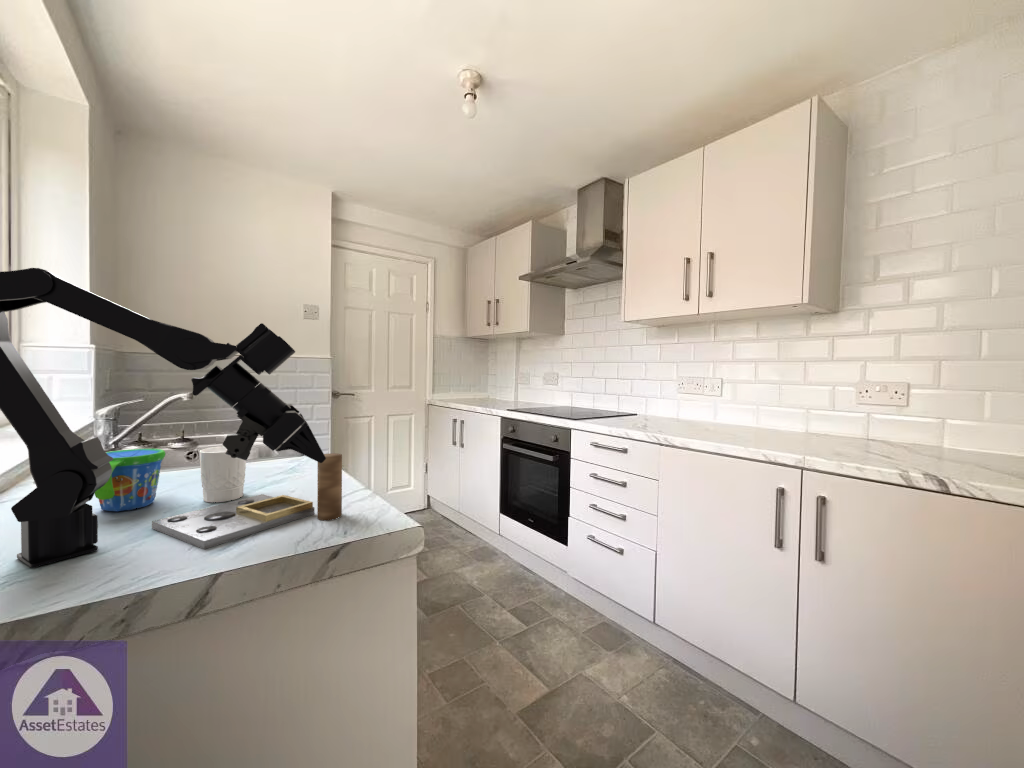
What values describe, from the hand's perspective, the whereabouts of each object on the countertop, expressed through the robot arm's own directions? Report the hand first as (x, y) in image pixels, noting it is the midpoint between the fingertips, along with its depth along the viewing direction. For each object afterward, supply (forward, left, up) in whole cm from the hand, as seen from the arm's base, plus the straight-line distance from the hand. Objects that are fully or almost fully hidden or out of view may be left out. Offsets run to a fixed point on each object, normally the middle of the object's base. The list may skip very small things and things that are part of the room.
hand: (321, 456), depth 75 cm
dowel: (+1, -1, -11) cm, 11 cm away
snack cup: (-14, +36, -11) cm, 40 cm away
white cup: (-2, +27, -11) cm, 29 cm away
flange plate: (-8, +11, -11) cm, 17 cm away
